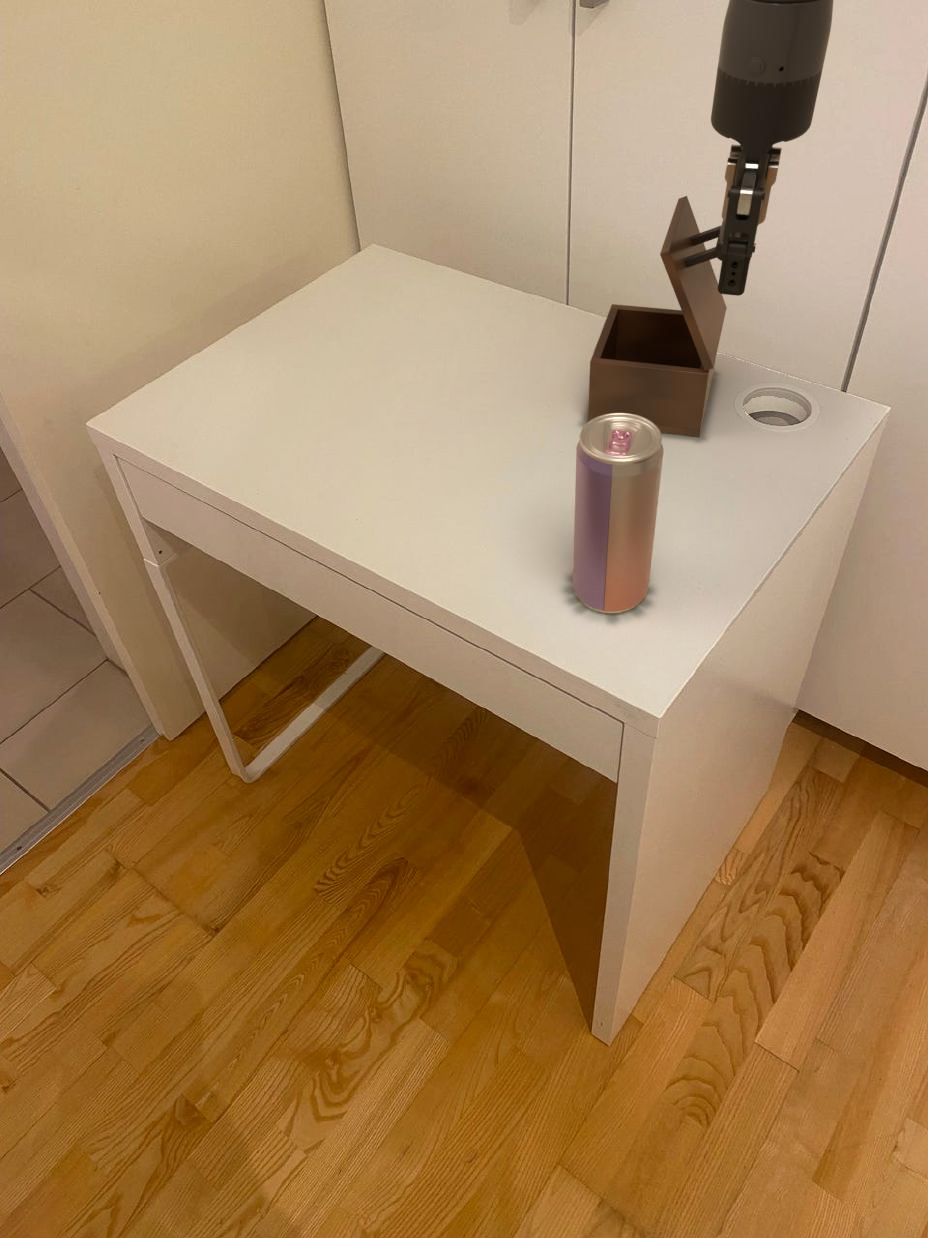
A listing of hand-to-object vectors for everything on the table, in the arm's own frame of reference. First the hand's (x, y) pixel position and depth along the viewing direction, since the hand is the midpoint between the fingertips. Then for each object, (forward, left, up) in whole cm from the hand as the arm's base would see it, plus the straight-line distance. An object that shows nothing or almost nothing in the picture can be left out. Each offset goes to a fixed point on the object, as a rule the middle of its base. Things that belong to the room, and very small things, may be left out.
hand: (734, 275), depth 83 cm
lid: (+4, 0, -1) cm, 4 cm away
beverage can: (+5, +27, -14) cm, 31 cm away
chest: (+6, 0, -13) cm, 15 cm away
